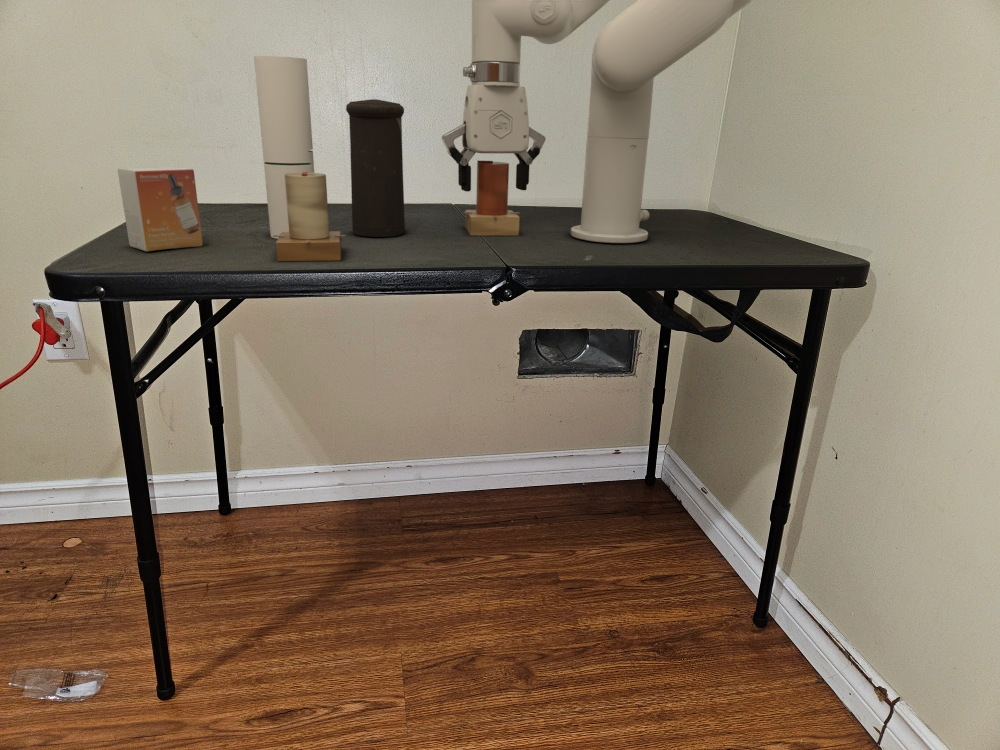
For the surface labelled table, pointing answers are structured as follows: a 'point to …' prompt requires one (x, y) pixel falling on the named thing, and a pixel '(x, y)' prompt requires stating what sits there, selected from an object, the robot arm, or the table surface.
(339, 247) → the base
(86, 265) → the table surface
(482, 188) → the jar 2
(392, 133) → the container
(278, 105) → the cylindrical container
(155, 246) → the small box
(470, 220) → the base
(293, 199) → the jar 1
